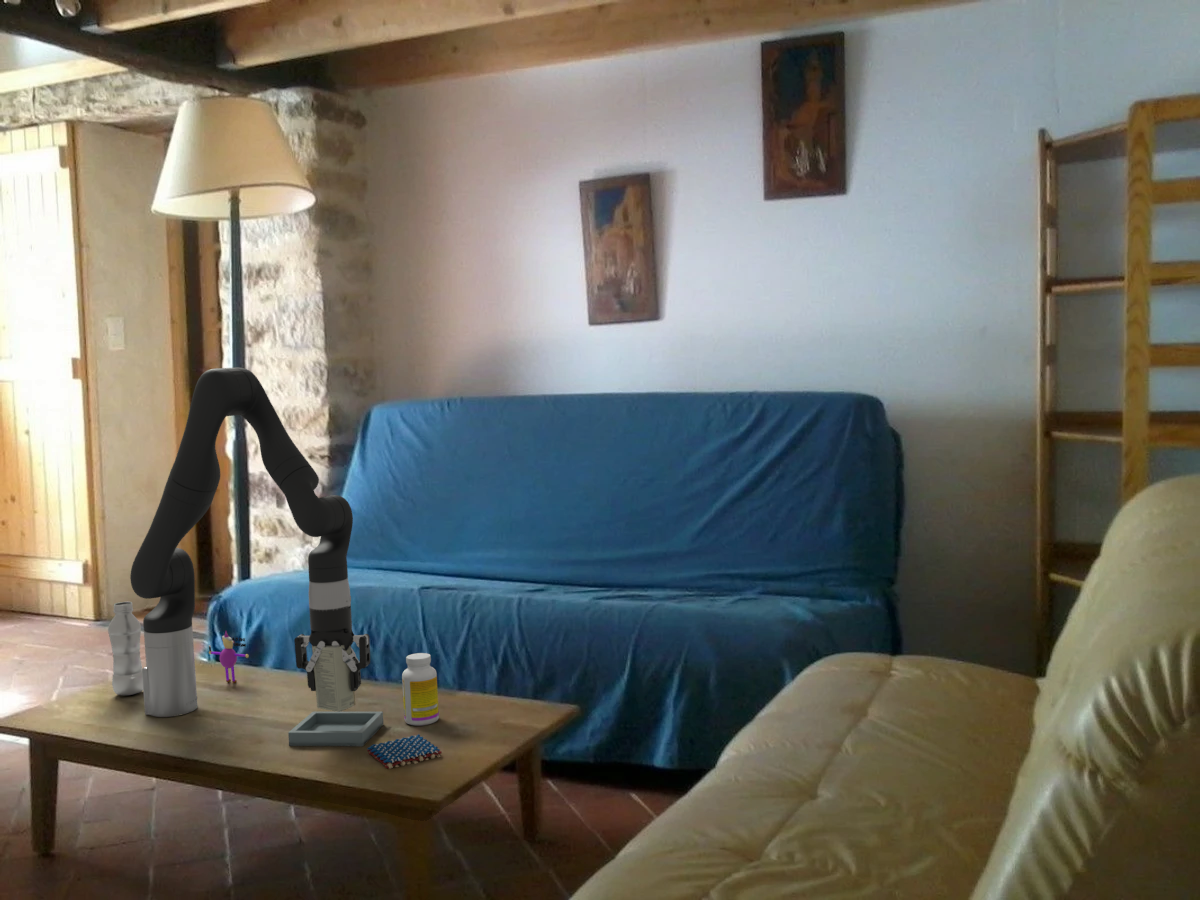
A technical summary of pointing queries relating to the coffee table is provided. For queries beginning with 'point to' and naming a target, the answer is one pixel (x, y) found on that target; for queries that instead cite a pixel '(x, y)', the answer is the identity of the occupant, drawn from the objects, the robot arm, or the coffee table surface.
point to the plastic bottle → (125, 650)
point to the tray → (336, 729)
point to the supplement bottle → (420, 690)
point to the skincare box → (333, 680)
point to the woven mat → (403, 751)
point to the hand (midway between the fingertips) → (334, 689)
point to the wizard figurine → (229, 655)
